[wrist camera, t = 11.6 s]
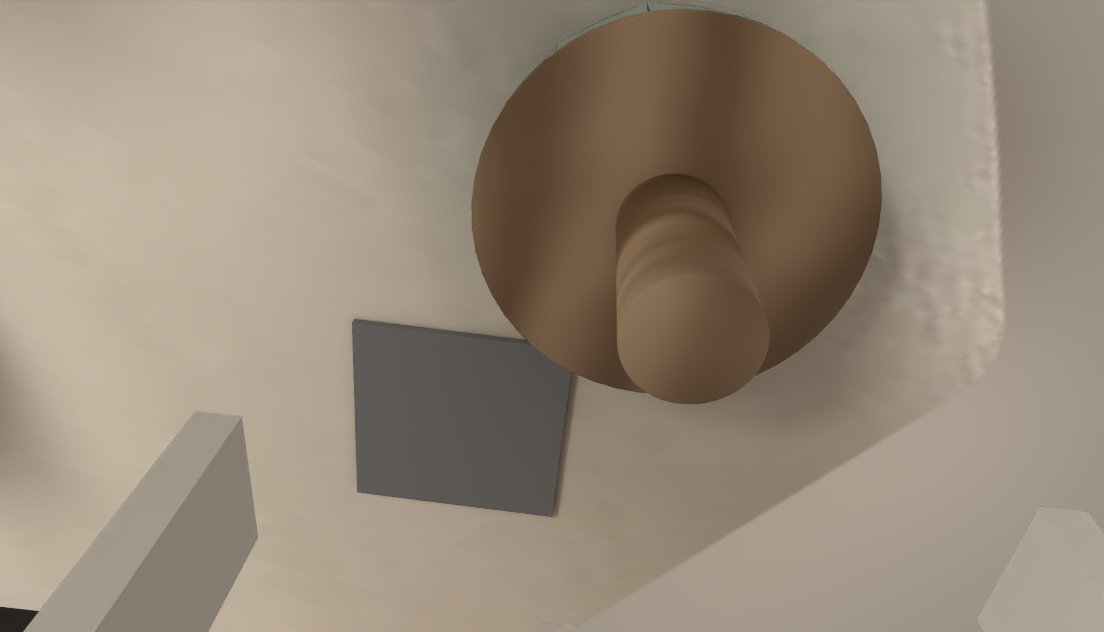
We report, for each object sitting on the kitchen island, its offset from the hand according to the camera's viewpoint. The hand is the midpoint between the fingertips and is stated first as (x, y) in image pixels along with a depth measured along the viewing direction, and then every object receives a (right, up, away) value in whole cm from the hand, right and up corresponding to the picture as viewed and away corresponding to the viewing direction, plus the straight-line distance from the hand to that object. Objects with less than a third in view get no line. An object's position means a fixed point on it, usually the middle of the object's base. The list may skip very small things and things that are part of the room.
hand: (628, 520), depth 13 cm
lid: (+4, +7, +18) cm, 20 cm away
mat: (-7, -3, +31) cm, 32 cm away
